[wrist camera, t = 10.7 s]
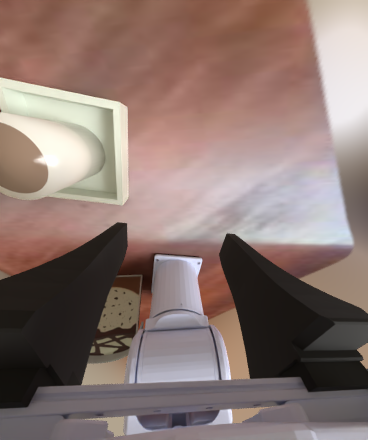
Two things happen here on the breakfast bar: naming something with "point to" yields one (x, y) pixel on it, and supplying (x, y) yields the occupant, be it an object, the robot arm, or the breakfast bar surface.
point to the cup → (45, 156)
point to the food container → (118, 320)
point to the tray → (85, 116)
